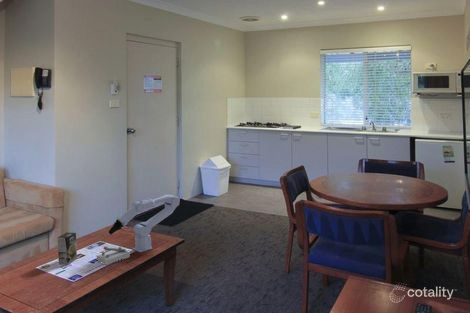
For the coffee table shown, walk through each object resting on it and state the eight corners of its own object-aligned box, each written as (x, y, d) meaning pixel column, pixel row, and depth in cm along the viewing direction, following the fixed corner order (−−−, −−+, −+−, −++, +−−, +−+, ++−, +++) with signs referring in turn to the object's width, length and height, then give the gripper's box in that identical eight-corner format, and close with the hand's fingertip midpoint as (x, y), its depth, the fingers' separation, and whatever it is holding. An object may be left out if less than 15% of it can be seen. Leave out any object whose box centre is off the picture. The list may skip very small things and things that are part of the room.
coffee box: (68, 264, 227) (66, 237, 224) (58, 263, 228) (56, 237, 226) (77, 258, 236) (76, 232, 233) (68, 257, 237) (66, 231, 235)
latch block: (120, 252, 245) (120, 245, 245) (129, 257, 239) (129, 249, 238) (96, 260, 234) (96, 252, 233) (105, 265, 227) (105, 257, 226)
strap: (121, 250, 241) (121, 247, 242) (123, 251, 239) (124, 249, 240) (103, 248, 232) (104, 246, 232) (106, 250, 230) (106, 247, 230)
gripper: (121, 214, 248) (104, 229, 241) (124, 209, 235) (106, 225, 228) (129, 222, 248) (112, 237, 241) (132, 218, 235) (115, 234, 229)
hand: (110, 232), depth 235 cm, fingers open, 7 cm apart
